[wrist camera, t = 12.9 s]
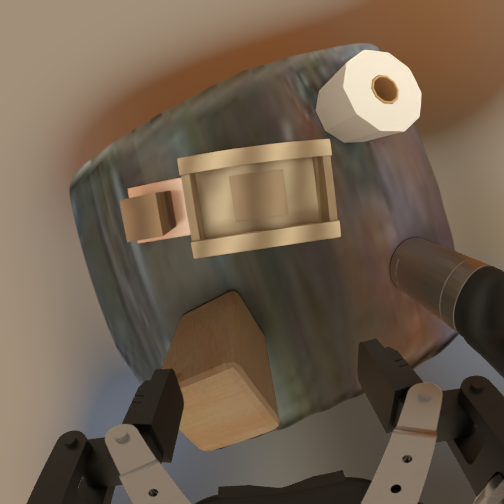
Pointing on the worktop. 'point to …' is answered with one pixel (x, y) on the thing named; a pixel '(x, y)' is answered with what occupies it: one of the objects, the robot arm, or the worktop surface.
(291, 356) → the worktop surface
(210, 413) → the wooden block
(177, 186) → the tile
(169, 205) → the walnut block
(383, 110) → the toilet paper
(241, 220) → the crate
